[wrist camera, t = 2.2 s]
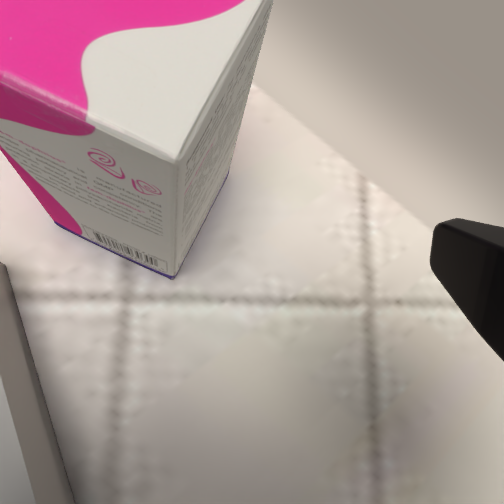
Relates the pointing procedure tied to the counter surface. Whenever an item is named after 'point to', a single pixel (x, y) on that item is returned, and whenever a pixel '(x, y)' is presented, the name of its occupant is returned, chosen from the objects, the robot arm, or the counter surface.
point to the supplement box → (127, 113)
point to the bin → (25, 419)
